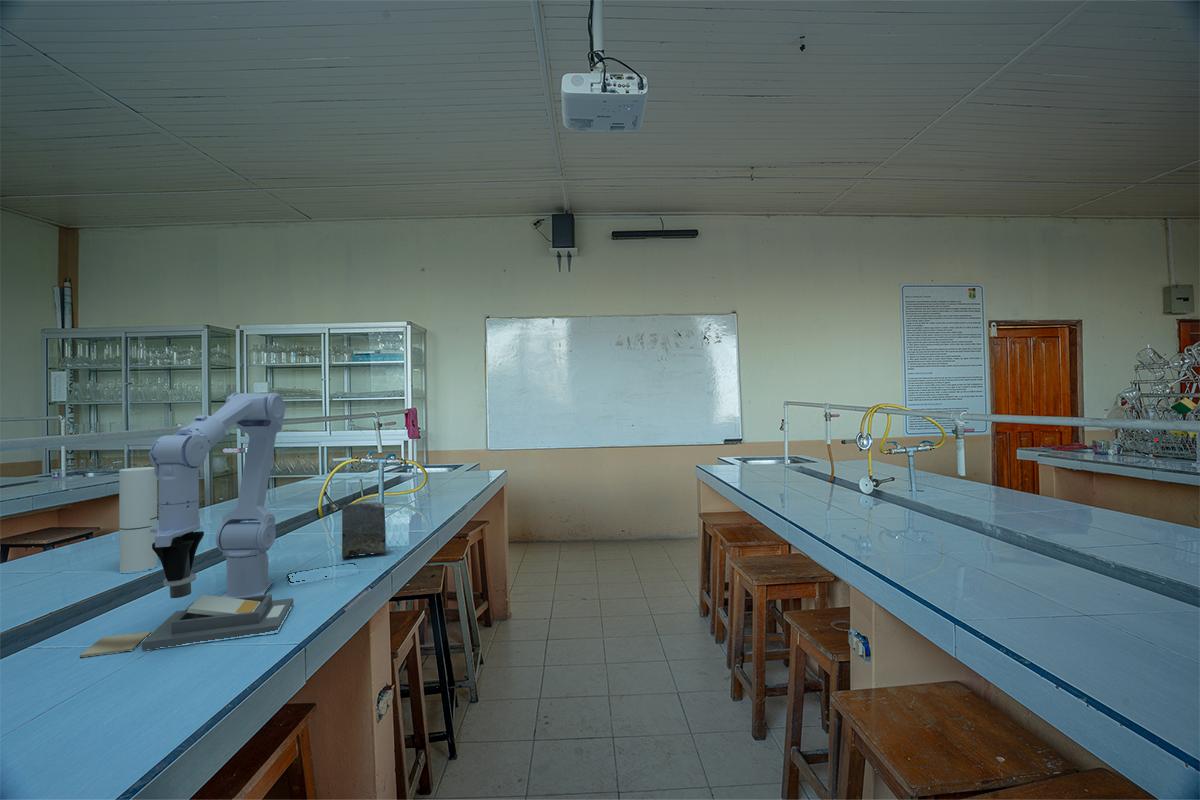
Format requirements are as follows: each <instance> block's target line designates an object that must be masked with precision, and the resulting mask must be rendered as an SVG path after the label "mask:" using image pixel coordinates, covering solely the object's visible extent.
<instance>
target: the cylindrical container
mask: <svg viewBox="0 0 1200 800" xmlns="http://www.w3.org/2000/svg"><path fill="white" fill-rule="evenodd" d="M118 473H119V475H118V477H119V479H118V480H119V481H118V489H119V491H118V492H119V493H118V494H119V495H118V496H119V499H118V500H119V501H118V502H119V504H118V505H119V509H118V510H119V512H118V514H119V515H118V518H119V519H118V522H119V524H118V525H119V535H118V536H119V572H120V571H121V572H129V571H140V570H144V569H148V568H152V567H154V566H156V565H157V566H158V555H157V554H156V553H155V552H154V550H153V549H152V544H153V543H154V542H155V536H156V535H157V533H156V532H155V533H151V532H150V529H151V528H153V527H157V526H158V477H156V474H155V469H154V466H146V467H143V466H142V467H130V468H122V469H119V471H118Z"/></svg>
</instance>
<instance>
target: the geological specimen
mask: <svg viewBox="0 0 1200 800" xmlns="http://www.w3.org/2000/svg"><path fill="white" fill-rule="evenodd" d="M385 510H386V509H385V503H383V502H382V501H381V502H376V501H374V502H373V501H361V502H357V503H349V504H346V505H344V506H343V505H342V506H341V521H342V522H341V523H342V525H341V527H342V529H341V532H342V533H341V534H342V535H341V538H342V541H341V557H342V558H345V557H346V556H347V555H348V556H349V555H359V554H369V555H370V554H371V553H379V554H385V552H386V551H387V550H386V546H387V545H386V543H387V542H386V514H385V513H386V511H385ZM371 555H372V554H371Z"/></svg>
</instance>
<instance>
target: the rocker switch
mask: <svg viewBox="0 0 1200 800" xmlns="http://www.w3.org/2000/svg"><path fill="white" fill-rule="evenodd" d="M193 602H194V603H193ZM193 602H192V603H193V604H192V603H191V604H192V605H191V604H190V605H191V606H190V605H189V606H190V607H189V606H188V607H189V608H188V607H187V608H188V611H187V613H195V614H204V615H212V616H221V615H230V614H238V613H247V612H255V611H256V610H257V608H258V607H259V605H260V604H261V602H259V601H251V600H243V599H235V598H227V597H222V596H217V595H209V594H202V595H200V596H199V597H198V598H197V599H196V600H195V601H193Z"/></svg>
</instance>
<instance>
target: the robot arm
mask: <svg viewBox="0 0 1200 800" xmlns="http://www.w3.org/2000/svg"><path fill="white" fill-rule="evenodd" d="M285 405H286V404H285V402H284V399H283V397H282V396H281V395H280V394H279V393H278V392H270V393H268V392H267V393H266V392H264V393H263V392H261V393H260V392H258V393H257V392H256V393H255V392H252V393H251V392H244V393H242V392H233V393H231V394H230V395H228V396H227V397H226V398H225V403H224V404H223V406H221V407H220V408H219V409H218V410H217V411H216V412H214V413H213V414H212V415H205V414H204V415H203V414H201V415H197V416H195V417H194V420H193V421H191V422H190V423H189V424H187V425H186V426H184V427H181V428H179V429H178V431H177V432H175V433H174V434H173V435H172V434H171V435H168V434H167V435H162V436H160V437H159V438H157V439H156V440H155V441H154V442H153V443H152V445H151V448H150V451H149V452H148V455H149V456H148V457H149V461H150V462H151V464H152V465H153V467H154V469H155V474H156V477H157V478H158V525H157V527H153V528H151V529H150V532H151V533H155V532H156V533H157V535H156V536H155V542H154V543H153V544H152V549H153V550H154V552H155V553H156V554H157V558H158V559H159V561H160V563H161V566H162V568H163V571H164V575H165V579H166V578H167V581H177V580H182V579H183V577H184V573H185V567H186V560H187V556H188V553H189V562H190V573H192V572H191V571H192V568H193V565H194V560H195V557H196V554H197V550H198V546H199V545H200V542H202V541H201V540H202V539H203V538H204V535H205V531H197V530H200V528H201V518H200V514H199V513H200V486H199V485H200V476H199V475H200V469H199V468H200V466H201V465H203V464H204V463H205V461H206V458H207V455H208V453H209V452H210V450H211V448H213V447H214V446H216V445H217V444H218V443H219V442H221V441H222V440H223V439H224V438H225V437H226V434H227V429H229V428H230V427H232V426H233V425H235V426H236V427H237V428H238V429H239V431H241V432H243V433H245V434H247V436H248V444H247V449H246V455H245V459H244V465H243V470H242V475H241V482H240V486H239V487H240V488H239V492H238V497H237V503H236V507H234V508H233V509H232V510H230V511H229V512H228V513H225V514H224V515H223V516H222V521H221V524H220V525H219V528H218V530H217V532H216V535H215V544H216V547H217V549H218V550H219V551H220V552H222V556H224V557H225V556H226V592H225V593H223V595H222V596H221V597H227V598H240V597H249V596H258V595H263V594H264V593H265V592H266V590H267V589H268V588H269V586H270V585H271V584H272V582H273V583H274V580H269V555H268V553H267V551H269V550H270V548H271V547H273V545H274V543H275V541H276V534H277V533H276V532H277V530H276V516H275V515H274V514H273V513H271V512H270V511H269V510H268V509H266V508H265V503H266V497H267V491H268V485H269V479H270V475H271V468H272V462H273V456H274V449H275V445H276V439H277V433H279V432H281V431H282V430H283V429H282V428H283V424H284V417H285V412H286V406H285ZM272 585H273V584H272ZM272 585H271V586H272ZM271 586H270V587H271ZM269 589H270V588H269ZM269 589H268V590H269ZM268 590H267V591H268ZM261 593H263V594H261ZM266 593H267V592H266ZM266 593H265V594H266ZM265 594H264V595H265Z"/></svg>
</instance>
